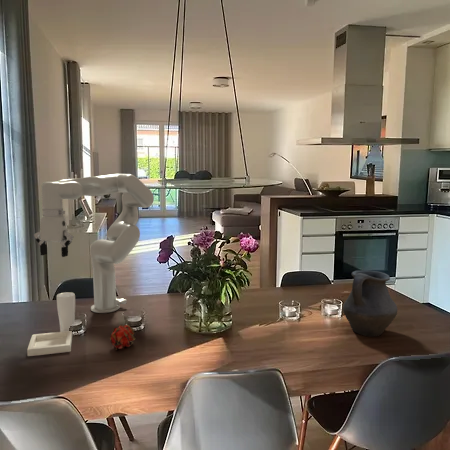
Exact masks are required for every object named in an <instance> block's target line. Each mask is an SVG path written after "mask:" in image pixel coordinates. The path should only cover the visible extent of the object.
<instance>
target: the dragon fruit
mask: <svg viewBox="0 0 450 450" xmlns="http://www.w3.org/2000/svg"><path fill="white" fill-rule="evenodd" d="M134 335H135V329H134V328H133V327H132V326H130V324H124V325H123V324H119V326H118V327H114V328H113V330H112V332H111V333H110V336H109V339H110V343H111V344H112V346H113V347H114V348H116V349H115V351H118V350H122V349H124V348H125V347H126V348H127V347H128V348H129V347H131V346H132V344H133V343H134V341H135V340H136V338H137V337H136V336H134Z"/></svg>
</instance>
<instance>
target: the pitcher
mask: <svg viewBox="0 0 450 450" xmlns="http://www.w3.org/2000/svg"><path fill="white" fill-rule="evenodd" d="M351 276H352V277H353V281H352V284H351V285H352V286H351V288H352V289H351V291H350V293H349V295H348V297H347V298H346V300H345V301H344V303H343V306H342V311H343V315H344V316H345V318H346V319H347V321H348V323H349V325H350V328H351V330H352V332H354V333H355V334H358V335H360V336H363V337H368V338H370V337H371V338H372V337H379V336H381V335H382V334H383V333H384V332H385V331H386V329H387V328H388V327H389V326H390V325H391V324H392V323H393V321H394V319H395V318H396V317H397V314H398V310H399V309H398V306H397V304H396V302H395V301H394V300H393V299H392V297H391V295H390V292H389V290H388V289H389V288H388V286H387V284H386V283H387V282H388V281H390V280H391V277H390V275H389V274H387V273H385V272H383V271H377V270H364V269H363V270H354V271H352V272H351Z"/></svg>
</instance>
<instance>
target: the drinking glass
mask: <svg viewBox="0 0 450 450" xmlns="http://www.w3.org/2000/svg"><path fill="white" fill-rule="evenodd" d="M56 308H57V314H58V320H59V321H58V322H59V323H58V324H59V332H64V331H69V328H70V326H71V325H72V324H73V323H74V322H75V321H76V319H75V317H76V316H75V315H76V295H75V293H74V292H72V291H71V292H66V291H65V292H61V293H58V294H57V295H56ZM75 323H76V322H75Z"/></svg>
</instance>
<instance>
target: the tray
mask: <svg viewBox="0 0 450 450" xmlns="http://www.w3.org/2000/svg"><path fill="white" fill-rule="evenodd" d="M72 342H73V332H72V331H64V332H61V331H56V332H55V331H54V332H47V333H45V332H43V333H35V334H32V335H31V338H30V341H29V343H28V347H27V357H33V356H45V355H50V354H51V355H53V354H60V353H71V351H72V344H73V343H72Z"/></svg>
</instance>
